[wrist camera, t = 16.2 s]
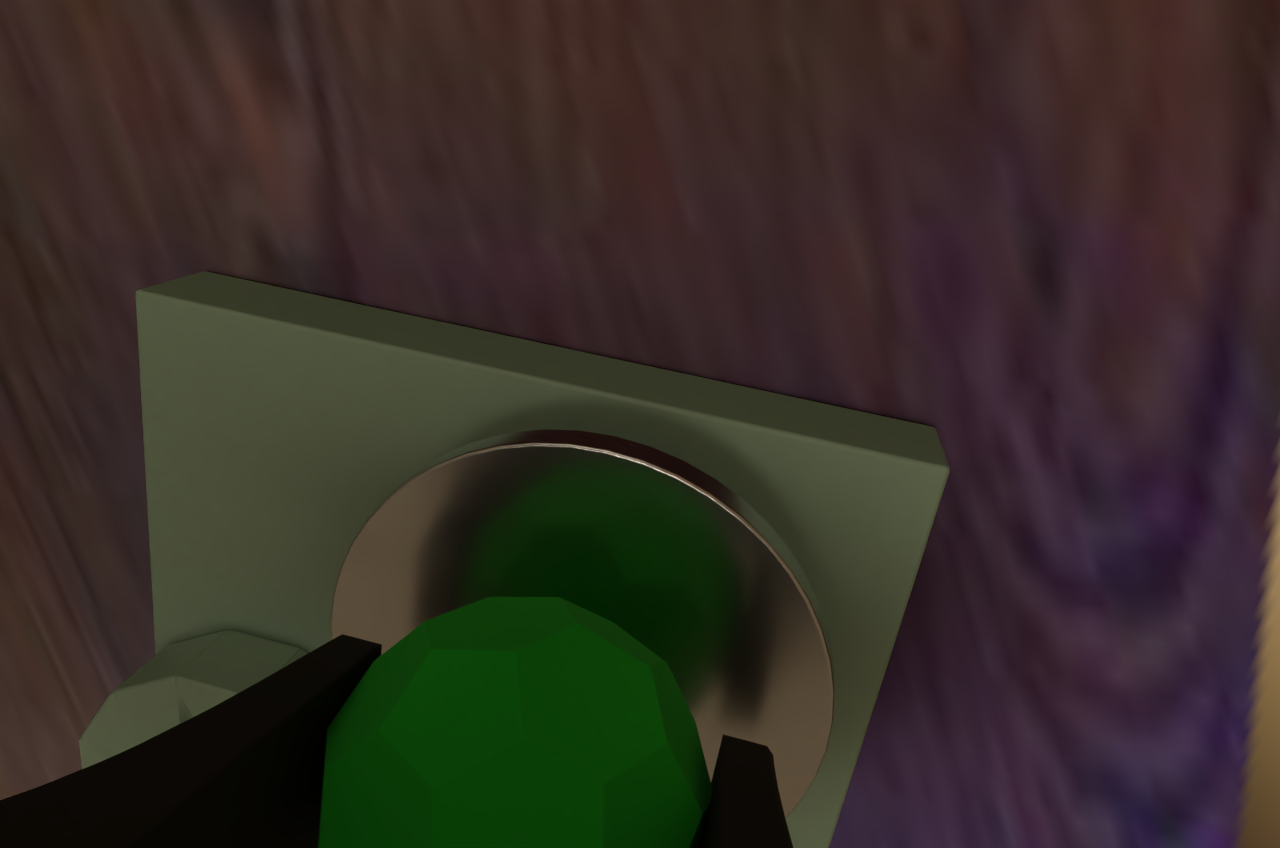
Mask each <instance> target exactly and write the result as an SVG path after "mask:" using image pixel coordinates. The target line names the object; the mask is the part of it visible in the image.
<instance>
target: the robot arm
mask: <svg viewBox="0 0 1280 848" xmlns="http://www.w3.org/2000/svg"><path fill="white" fill-rule="evenodd" d="M381 651H382V644H378V643H374V642H371V641H367V640H363V639H359V638H355V637H352V636H348V635H344V634H342V635H340V636H338V637H336V638H334V639H333V640H331V641H329V642H327V643H325V644H324V645H322V646H320V647H318V648H317V649H315V650H313V651H311V652H310V653H308V654H306V655H304V656H303V657H301V658H299V659H297V660H296V661H294V662H292V663H291V664H289V665H287V666H285V667H284V668H282V669H280V670H278V671H277V672H275V673H273V674H271V675H270V676H268V677H266V678H264V679H263V680H261V681H259V682H257V683H256V684H254V685H252V686H250V687H248V688H247V689H245V690H243V691H241V692H239V693H238V694H236V695H234V696H232V697H230V698H229V699H227V700H225V701H223V702H221V703H219V704H218V705H216V706H214V707H212V708H210V709H208V710H206V711H204V712H202V713H200V714H198V715H196V716H194V717H192V718H190V719H188V720H186V721H184V722H182V723H180V724H178V725H176V726H175V727H173V728H171V729H169V730H167V731H165V732H163V733H161V734H159V735H157V736H155V737H153V738H151V739H149V740H147V741H145V742H143V743H141V744H139V745H136V746H134V747H132V748H130V749H128V750H126V751H123V752H121V753H119V754H117V755H114V756H112V757H110V758H108V759H105V760H103V761H101V762H99V763H96V764H94V765H91V766H89V767H87V768H84V769H82V770H79V771H77V772H74V773H72V774H70V775H67V776H65V777H62V778H60V779H58V780H55V781H53V782H50V783H47V784H45V785H42V786H40V787H37V788H34V789H32V790H29V791H26V792H23V793H20V794H17V795H14V796H12V797H9V798H6V799H3V800H0V848H318V835H319V821H320V807H321V793H322V782H323V771H324V759H325V748H326V736H327V728H328V727H329V725H330V724H331V722H332V721H333V719H334V718H335V716H336V715H337V714H338V712H339V711H340V709H341V708H342V706H343V705H344V704H345V702H346V701H347V699H348V698H349V696H350V695H351V693H352V692H353V691H354V689H355V688H356V686H357V685H358V683H359V682H360V680H361V679H362V678H363V676H364V675H365V673H366V672H367V670H368V669H369V668H370V666H371V665H372V663H373V662H374V661H375V660H376V659H377V658H378V657H380V656H381ZM711 785H712V792H711V801H710V806H709V809H708V813H707V817H706V820H705V824H704V828H703V831H702V835H701V839H700V842H699V846H698V848H793V844H792V841H791V837H790V834H789V830H788V826H787V822H786V818H785V814H784V811H783V807H782V802H781V798H780V793H779V789H778V784H777V778H776V772H775V766H774V757H773V754H772V752H771V751H770V749H769V748H768V746H766V745H762V744H758V743H754V742H750V741H747V740H743V739H739V738H735V737H731V736H728V735H724V734H723V736H722V740H721V744H720V748H719V752H718V757H717V761H716V765H715V769H714V773H713V777H712V781H711Z"/></svg>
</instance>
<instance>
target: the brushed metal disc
mask: <svg viewBox="0 0 1280 848" xmlns="http://www.w3.org/2000/svg"><path fill="white" fill-rule="evenodd" d="M487 597H560V598H562V599H564V600H566V601H569V602H571V603H573V604H575V605H577V606H579V607H582V608H584V609H586V610H588V611H590V612H592V613H595V614H597V615H599V616H601V617H603V618H605V619H607V620H610V621H612V622H613V623H615V624H616V625H617V626H619V627H620V628H621V629H623V630H624V631H625V632H627V633H628V634H629V635H631V636H632V637H633V638H635V639H636V640H637V641H639V642H640V643H641V644H643V645H644V646H645V647H647V648H648V649H649V650H651V651H652V652H653V653H655V654H656V655H657V656H659V657H660V658H661V659H663V660H664V661H665V662H667V664H668V666H669V668H670V670H671V672H672V674H673V676H674V678H675V680H676V682H677V684H678V686H679V688H680V691H681V693H682V695H683V697H684V699H685V701H686V703H687V705H688V707H689V709H690V711H691V713H692V715H693V717H694V720H695V722H696V725H697V729H698V733H699V737H700V741H701V745H702V749H703V753H704V757H705V761H706V765H707V769H708V773H709V777H710V781H712V777H713V773H714V769H715V765H716V761H717V757H718V752H719V748H720V744H721V740H722V736H723V734H724V735H728V736H731V737H735V738H739V739H743V740H747V741H750V742H754V743H758V744H762V745H766V746H768V748H769V749H770V751H771V752H772V754H773V757H774V766H775V772H776V778H777V784H778V789H779V793H780V798H781V802H782V807H783V811H784V814H785V818H787V817H788V815H789V814H790V813H791V812H792V811H793V809H794V808H795V807H796V806H797V805H798V803H799V802H800V801H801V800H802V798H803V797H804V795H805V793H806V792H807V790H808V788H809V787H810V785H811V783H812V782H813V780H814V778H815V777H816V775H817V773H818V770H819V767H820V765H821V762H822V760H823V757H824V755H825V752H826V750H827V746H828V741H829V737H830V732H831V727H832V723H833V708H834V667H833V658H832V649H831V641H830V637H829V633H828V630H827V626H826V622H825V618H824V615H823V611H822V609H821V606H820V604H819V602H818V599H817V597H816V595H815V592H814V590H813V588H812V585H811V583H810V581H809V579H808V578H807V576H806V574H805V573H804V571H803V569H802V568H801V566H800V564H799V563H798V561H797V560H796V558H795V556H794V555H793V553H792V552H791V550H790V549H789V548H788V547H787V545H786V544H785V543H784V542H783V540H782V539H781V538H780V537H779V535H778V534H777V533H776V532H775V530H774V529H773V528H772V527H771V526H770V525H769V524H768V523H767V522H766V521H765V520H764V519H763V518H762V517H761V516H760V515H759V514H758V513H757V512H756V511H755V510H754V509H753V508H752V507H751V506H750V505H749V504H748V503H747V502H746V501H744V500H743V499H742V498H740V497H739V496H738V495H736V494H735V493H734V492H732V491H731V490H730V489H728V488H727V487H726V486H724V485H723V484H722V483H720V482H719V481H718V480H716V479H715V478H713V477H711V476H710V475H708V474H706V473H705V472H703V471H701V470H699V469H698V468H696V467H694V466H692V465H691V464H689V463H687V462H685V461H684V460H681V459H679V458H677V457H674V456H672V455H669V454H667V453H665V452H662V451H660V450H658V449H655V448H653V447H651V446H647V445H644V444H641V443H637V442H634V441H630V440H627V439H623V438H620V437H616V436H611V435H605V434H598V433H592V432H586V431H580V430H552V429H542V430H532V431H521V432H511V433H507V434H502V435H498V436H494V437H489V438H485V439H481V440H478V441H475V442H473V443H470V444H467V445H465V446H462V447H460V448H457V449H454V450H452V451H450V452H448V453H446V454H444V455H443V456H441V457H439V458H437V459H435V460H434V461H432V462H430V463H428V464H427V465H425V466H423V467H422V468H421V469H420V470H418V471H417V472H416V473H415V474H413V475H412V476H411V477H409V478H408V479H407V480H406V481H404V482H403V483H402V484H401V485H400V486H399V487H397V488H396V489H395V490H394V491H393V492H392V493H391V494H390V495H389V496H388V497H387V498H386V499H385V500H384V501H383V502H382V503H381V504H380V505H379V506H378V507H377V509H376V510H375V511H374V512H373V513H372V514H371V515H370V516H369V517H368V518H367V520H366V521H365V523H364V524H363V526H362V528H361V529H360V531H359V532H358V534H357V535H356V537H355V538H354V540H353V541H352V543H351V546H350V548H349V550H348V552H347V554H346V557H345V559H344V561H343V563H342V566H341V569H340V573H339V576H338V580H337V584H336V587H335V591H334V597H333V606H332V615H331V637H332V640H333V639H334V638H336V637H338V636H340V635H342V634H344V635H348V636H352V637H355V638H359V639H363V640H367V641H371V642H374V643H378V644H382V651H381V655H382V654H383V653H385V652H386V651H387V650H389V649H390V648H391V647H392V646H394V645H395V644H396V643H397V642H399V641H400V640H401V639H403V638H404V637H405V636H406V635H408V634H409V633H410V632H411V631H413V630H414V629H415V628H417V627H418V626H419V625H420V624H422V623H423V622H424V621H426V620H429V619H432V618H434V617H437V616H440V615H442V614H445V613H448V612H450V611H453V610H456V609H458V608H461V607H464V606H466V605H469V604H472V603H474V602H477V601H480V600H482V599H485V598H487Z"/></svg>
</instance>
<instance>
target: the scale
mask: <svg viewBox="0 0 1280 848" xmlns="http://www.w3.org/2000/svg"><path fill="white" fill-rule="evenodd" d="M135 297H136V314H137V332H138V350H139V368H140V386H141V403H142V421H143V439H144V457H145V475H146V492H147V510H148V528H149V546H150V564H151V581H152V599H153V617H154V635H155V653H156V655H155V656H154V657H153V658H152V659H150V660H149V661H148V662H147V663H146V664H144V665H143V666H142V667H141V668H140V669H138V670H137V671H136V672H135V673H134V674H132V675H131V676H130V677H129V678H128V679H126V680H125V681H124V682H123V683H122V684H120V685H119V686H118V687H117V688H116V689H115V690H113V691H112V692H111V693H110V695H109V696H108V698H107V699H106V701H105V702H104V703H103V705H102V706H101V708H100V709H99V711H98V712H97V714H96V715H95V716H94V718H93V719H92V721H91V722H90V724H89V725H88V727H87V728H86V730H85V731H84V732H83V734H82V737H81V738H80V740H79V744H80V754H81V764H82V769H84V768H87V767H89V766H91V765H94V764H96V763H99V762H101V761H103V760H105V759H108V758H110V757H112V756H114V755H117V754H119V753H121V752H123V751H126V750H128V749H130V748H132V747H134V746H136V745H139V744H141V743H143V742H145V741H147V740H149V739H151V738H153V737H155V736H157V735H159V734H161V733H163V732H165V731H167V730H169V729H171V728H173V727H175V726H176V725H178V724H180V723H182V722H184V721H186V720H188V719H190V718H192V717H194V716H196V715H198V714H200V713H202V712H204V711H206V710H208V709H210V708H212V707H214V706H216V705H218V704H219V703H221V702H223V701H225V700H227V699H229V698H230V697H232V696H234V695H236V694H238V693H239V692H241V691H243V690H245V689H247V688H248V687H250V686H252V685H254V684H256V683H257V682H259V681H261V680H263V679H264V678H266V677H268V676H270V675H271V674H273V673H275V672H277V671H278V670H280V669H282V668H284V667H285V666H287V665H289V664H291V663H292V662H294V661H296V660H297V659H299V658H301V657H303V656H304V655H306V654H308V653H310V652H311V651H313V650H315V649H317V648H318V647H320V646H322V645H324V644H325V643H327V642H329V641H331V640H332V637H331V615H332V606H333V597H334V591H335V587H336V584H337V580H338V576H339V573H340V569H341V566H342V563H343V561H344V559H345V557H346V554H347V552H348V550H349V548H350V546H351V543H352V541H353V540H354V538H355V537H356V535H357V534H358V532H359V531H360V529H361V528H362V526H363V524H364V523H365V521H366V520H367V518H368V517H369V516H370V515H371V514H372V513H373V512H374V511H375V510H376V509H377V507H378V506H379V505H380V504H381V503H382V502H383V501H384V500H385V499H386V498H387V497H388V496H389V495H390V494H391V493H392V492H393V491H394V490H395V489H396V488H397V487H399V486H400V485H401V484H402V483H403V482H404V481H406V480H407V479H408V478H409V477H411V476H412V475H413V474H415V473H416V472H417V471H418V470H420V469H421V468H422V467H423V466H425V465H427V464H428V463H430V462H432V461H434V460H435V459H437V458H439V457H441V456H443V455H444V454H446V453H448V452H450V451H452V450H454V449H457V448H460V447H462V446H465V445H467V444H470V443H473V442H475V441H478V440H481V439H485V438H489V437H494V436H498V435H502V434H507V433H511V432H521V431H532V430H542V429H552V430H580V431H586V432H592V433H598V434H605V435H611V436H616V437H620V438H623V439H627V440H630V441H634V442H637V443H641V444H644V445H647V446H651V447H653V448H655V449H658V450H660V451H662V452H665V453H667V454H669V455H672V456H674V457H677V458H679V459H681V460H684V461H685V462H687V463H689V464H691V465H692V466H694V467H696V468H698V469H699V470H701V471H703V472H705V473H706V474H708V475H710V476H711V477H713V478H715V479H716V480H718V481H719V482H720V483H722V484H723V485H724V486H726V487H727V488H728V489H730V490H731V491H732V492H734V493H735V494H736V495H738V496H739V497H740V498H742V499H743V500H744V501H746V502H747V503H748V504H749V505H750V506H751V507H752V508H753V509H754V510H755V511H756V512H757V513H758V514H759V515H760V516H761V517H762V518H763V519H764V520H765V521H766V522H767V523H768V524H769V525H770V526H771V527H772V528H773V529H774V530H775V532H776V533H777V534H778V535H779V537H780V538H781V539H782V540H783V542H784V543H785V544H786V545H787V547H788V548H789V549H790V550H791V552H792V553H793V555H794V556H795V558H796V560H797V561H798V563H799V564H800V566H801V568H802V569H803V571H804V573H805V574H806V576H807V578H808V579H809V581H810V583H811V585H812V588H813V590H814V592H815V595H816V597H817V599H818V602H819V604H820V606H821V609H822V611H823V615H824V618H825V622H826V626H827V630H828V633H829V637H830V641H831V649H832V658H833V667H834V708H833V723H832V727H831V732H830V737H829V741H828V746H827V750H826V752H825V755H824V757H823V760H822V762H821V765H820V767H819V770H818V773H817V775H816V777H815V778H814V780H813V782H812V783H811V785H810V787H809V788H808V790H807V792H806V793H805V795H804V797H803V798H802V800H801V801H800V802H799V803H798V805H797V806H796V807H795V808H794V809H793V811H792V812H791V813H790V814H789V815H788V817H787V818H786V822H787V826H788V830H789V834H790V837H791V841H792V844H793V848H829V846H830V843H831V840H832V837H833V833H834V830H835V827H836V824H837V821H838V818H839V815H840V812H841V809H842V805H843V802H844V799H845V796H846V793H847V790H848V787H849V784H850V780H851V777H852V774H853V771H854V768H855V765H856V762H857V759H858V756H859V752H860V749H861V746H862V743H863V740H864V737H865V734H866V731H867V728H868V724H869V721H870V718H871V715H872V712H873V709H874V706H875V703H876V700H877V696H878V693H879V690H880V687H881V684H882V681H883V678H884V675H885V672H886V668H887V665H888V662H889V659H890V656H891V653H892V650H893V647H894V644H895V640H896V637H897V634H898V631H899V628H900V625H901V622H902V619H903V616H904V612H905V609H906V606H907V603H908V600H909V597H910V594H911V591H912V587H913V584H914V581H915V578H916V575H917V572H918V569H919V566H920V563H921V559H922V556H923V553H924V550H925V547H926V544H927V541H928V538H929V535H930V531H931V528H932V525H933V522H934V519H935V516H936V513H937V510H938V507H939V503H940V500H941V497H942V494H943V491H944V488H945V485H946V482H947V479H948V475H949V472H950V469H949V465H948V462H947V460H946V457H945V454H944V451H943V448H942V445H941V442H940V439H939V436H938V433H937V430H936V429H935V428H934V427H931V426H926V425H922V424H917V423H912V422H908V421H903V420H898V419H894V418H889V417H884V416H880V415H875V414H870V413H866V412H861V411H856V410H852V409H847V408H842V407H838V406H833V405H828V404H824V403H819V402H814V401H809V400H805V399H800V398H795V397H791V396H786V395H781V394H777V393H772V392H767V391H763V390H758V389H753V388H749V387H744V386H739V385H735V384H730V383H725V382H721V381H716V380H711V379H707V378H702V377H697V376H693V375H688V374H683V373H679V372H674V371H669V370H665V369H660V368H655V367H650V366H646V365H641V364H636V363H632V362H627V361H622V360H618V359H613V358H608V357H604V356H599V355H594V354H590V353H585V352H580V351H576V350H571V349H566V348H562V347H557V346H552V345H548V344H543V343H538V342H534V341H529V340H524V339H520V338H515V337H510V336H506V335H501V334H496V333H491V332H487V331H482V330H477V329H473V328H468V327H463V326H459V325H454V324H449V323H445V322H440V321H435V320H431V319H426V318H421V317H417V316H412V315H407V314H403V313H398V312H393V311H389V310H384V309H379V308H375V307H370V306H365V305H361V304H356V303H351V302H347V301H342V300H337V299H332V298H328V297H323V296H318V295H314V294H309V293H304V292H300V291H295V290H290V289H286V288H281V287H276V286H272V285H267V284H262V283H258V282H253V281H248V280H244V279H239V278H234V277H230V276H225V275H220V274H216V273H211V272H206V271H203V272H200V273H196V274H193V275H189V276H185V277H182V278H178V279H175V280H171V281H168V282H164V283H161V284H157V285H154V286H150V287H146V288H143V289H139V290H137V291H136V294H135Z"/></svg>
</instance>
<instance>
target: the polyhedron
mask: <svg viewBox="0 0 1280 848" xmlns="http://www.w3.org/2000/svg"><path fill="white" fill-rule="evenodd" d="M711 792H712V785H711V781H710V777H709V773H708V769H707V765H706V761H705V757H704V753H703V749H702V745H701V741H700V737H699V733H698V729H697V725H696V722H695V720H694V717H693V715H692V713H691V711H690V709H689V707H688V705H687V703H686V701H685V699H684V697H683V695H682V693H681V691H680V688H679V686H678V684H677V682H676V680H675V678H674V676H673V674H672V672H671V670H670V668H669V666H668V664H667V662H665V661H664V660H663V659H661V658H660V657H659V656H657V655H656V654H655V653H653V652H652V651H651V650H649V649H648V648H647V647H645V646H644V645H643V644H641V643H640V642H639V641H637V640H636V639H635V638H633V637H632V636H631V635H629V634H628V633H627V632H625V631H624V630H623V629H621V628H620V627H619V626H617V625H616V624H615V623H613V622H612V621H610V620H607V619H605V618H603V617H601V616H599V615H597V614H595V613H592V612H590V611H588V610H586V609H584V608H582V607H579V606H577V605H575V604H573V603H571V602H569V601H566V600H564V599H562V598H560V597H487V598H485V599H482V600H480V601H477V602H474V603H472V604H469V605H466V606H464V607H461V608H458V609H456V610H453V611H450V612H448V613H445V614H442V615H440V616H437V617H434V618H432V619H429V620H426V621H424V622H423V623H422V624H420V625H419V626H418V627H417V628H415V629H414V630H413V631H411V632H410V633H409V634H408V635H406V636H405V637H404V638H403V639H401V640H400V641H399V642H397V643H396V644H395V645H394V646H392V647H391V648H390V649H389V650H387V651H386V652H385V653H383V654H382V655H381V656H380V657H378V658H377V659H376V660H375V661H374V662H373V663H372V665H371V666H370V668H369V669H368V670H367V672H366V673H365V675H364V676H363V678H362V679H361V680H360V682H359V683H358V685H357V686H356V688H355V689H354V691H353V692H352V693H351V695H350V696H349V698H348V699H347V701H346V702H345V704H344V705H343V706H342V708H341V709H340V711H339V712H338V714H337V715H336V716H335V718H334V719H333V721H332V722H331V724H330V725H329V727H328V728H327V736H326V748H325V759H324V771H323V782H322V793H321V807H320V821H319V835H318V848H698V846H699V842H700V839H701V835H702V831H703V828H704V824H705V820H706V817H707V813H708V809H709V806H710V801H711Z"/></svg>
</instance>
